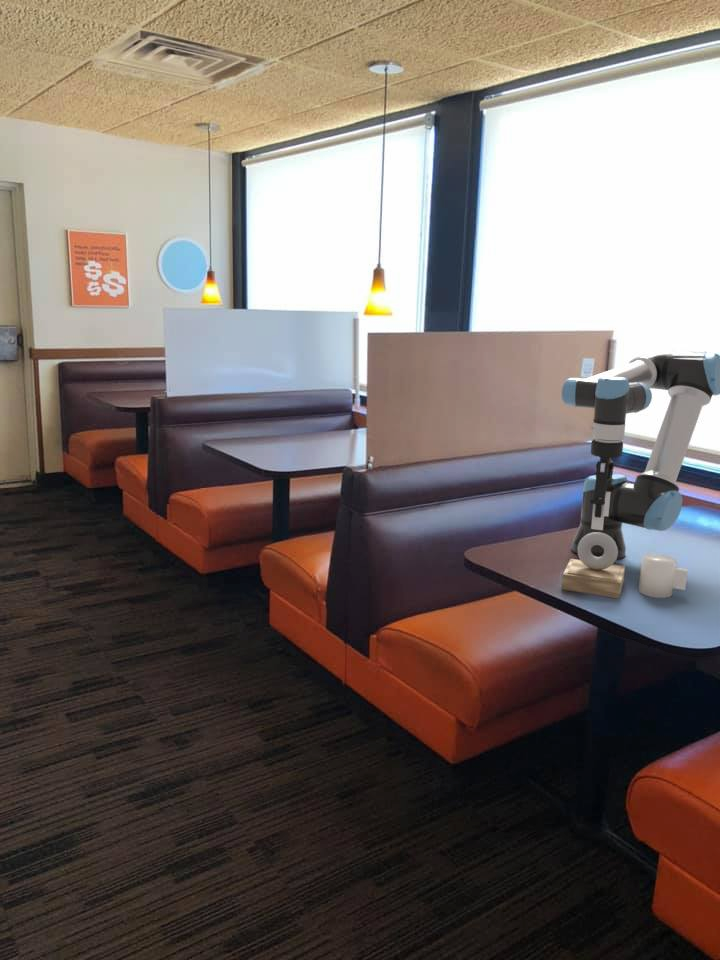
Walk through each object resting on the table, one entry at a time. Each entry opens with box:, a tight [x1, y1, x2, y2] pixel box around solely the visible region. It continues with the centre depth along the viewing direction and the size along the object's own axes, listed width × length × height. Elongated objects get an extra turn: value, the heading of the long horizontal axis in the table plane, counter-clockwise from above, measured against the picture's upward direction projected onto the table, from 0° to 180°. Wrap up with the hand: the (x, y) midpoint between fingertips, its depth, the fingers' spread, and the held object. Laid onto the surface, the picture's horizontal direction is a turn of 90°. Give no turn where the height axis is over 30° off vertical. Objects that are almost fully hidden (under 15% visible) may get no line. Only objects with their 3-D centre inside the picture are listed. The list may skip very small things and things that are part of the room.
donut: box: [577, 532, 618, 570], centre depth 195 cm, size 10×4×10 cm, turn 67°
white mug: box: [638, 552, 688, 599], centre depth 192 cm, size 8×11×9 cm
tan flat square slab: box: [561, 558, 626, 599], centre depth 197 cm, size 14×14×4 cm
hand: (600, 522), depth 194 cm, fingers open, 13 cm apart
